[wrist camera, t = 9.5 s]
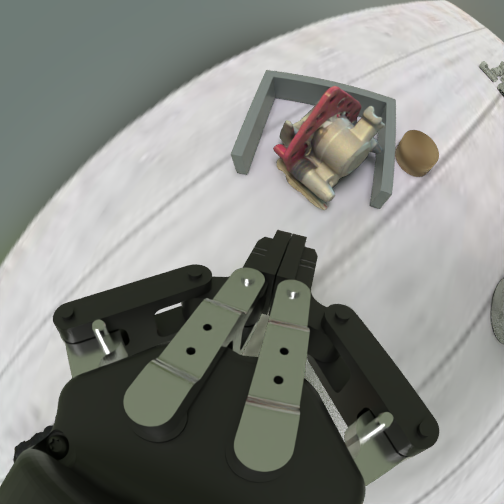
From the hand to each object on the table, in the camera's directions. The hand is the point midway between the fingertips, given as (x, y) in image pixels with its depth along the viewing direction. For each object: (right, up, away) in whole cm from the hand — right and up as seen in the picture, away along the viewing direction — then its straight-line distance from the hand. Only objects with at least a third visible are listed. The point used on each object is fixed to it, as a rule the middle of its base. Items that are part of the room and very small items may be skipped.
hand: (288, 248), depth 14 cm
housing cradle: (+6, +13, +16) cm, 21 cm away
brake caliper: (+6, +11, +16) cm, 20 cm away
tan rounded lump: (+18, +11, +15) cm, 26 cm away
